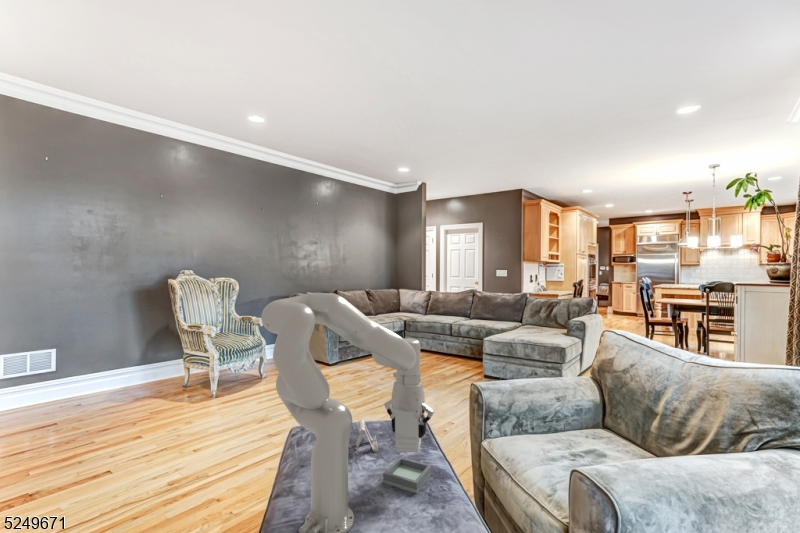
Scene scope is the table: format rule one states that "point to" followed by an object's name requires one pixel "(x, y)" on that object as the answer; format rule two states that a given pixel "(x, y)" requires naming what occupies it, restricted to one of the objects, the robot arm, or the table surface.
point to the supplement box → (406, 431)
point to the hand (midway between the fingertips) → (408, 433)
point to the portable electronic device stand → (363, 432)
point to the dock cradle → (407, 474)
